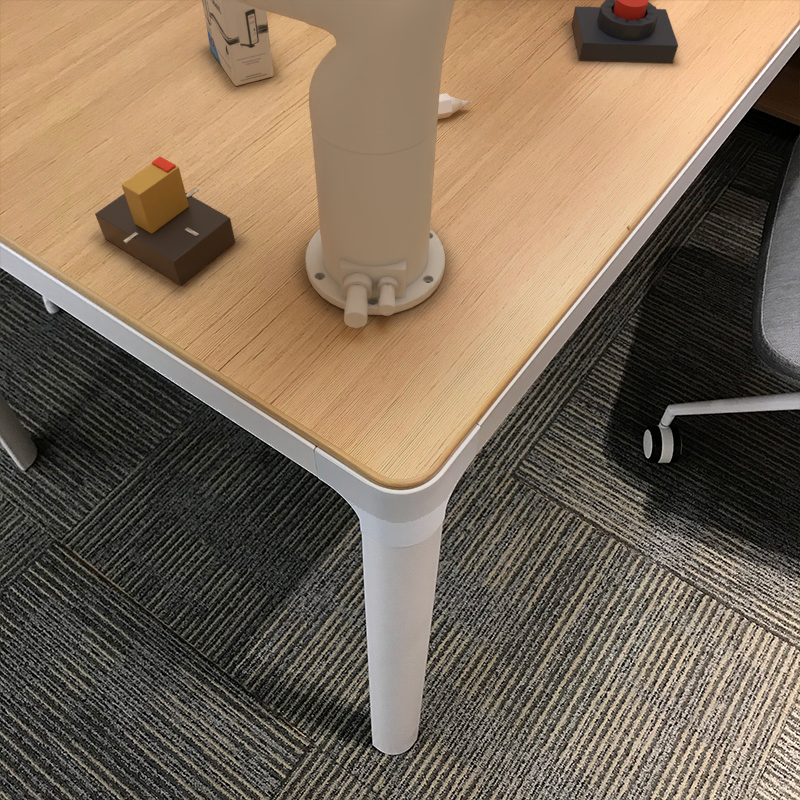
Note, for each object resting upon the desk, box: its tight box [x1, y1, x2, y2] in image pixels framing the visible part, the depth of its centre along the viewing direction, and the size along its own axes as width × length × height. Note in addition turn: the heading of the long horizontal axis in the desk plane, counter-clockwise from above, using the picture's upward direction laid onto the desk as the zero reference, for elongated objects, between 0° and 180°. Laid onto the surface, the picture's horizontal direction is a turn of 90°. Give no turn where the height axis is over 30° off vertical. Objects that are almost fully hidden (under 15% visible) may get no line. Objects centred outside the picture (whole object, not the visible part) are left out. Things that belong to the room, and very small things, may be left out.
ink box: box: [201, 0, 274, 87], centre depth 83 cm, size 9×5×12 cm, turn 27°
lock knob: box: [121, 156, 189, 234], centre depth 67 cm, size 5×2×5 cm, turn 144°
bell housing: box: [571, 0, 679, 64], centre depth 90 cm, size 8×11×4 cm
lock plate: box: [94, 187, 236, 287], centre depth 70 cm, size 10×9×3 cm
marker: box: [438, 92, 473, 120], centre depth 81 cm, size 3×2×16 cm
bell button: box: [613, 0, 650, 20], centre depth 88 cm, size 4×4×2 cm
